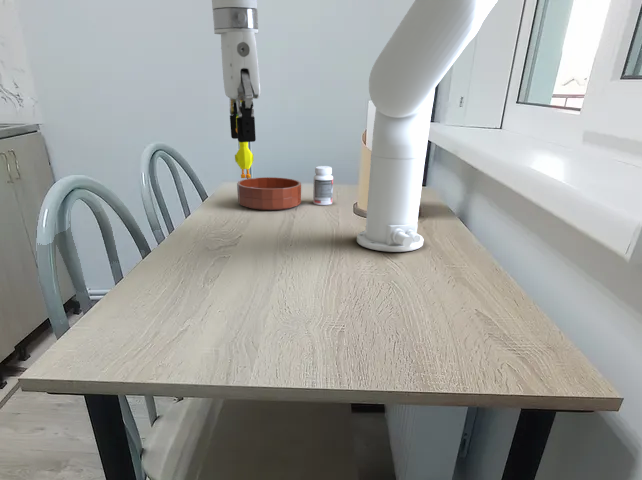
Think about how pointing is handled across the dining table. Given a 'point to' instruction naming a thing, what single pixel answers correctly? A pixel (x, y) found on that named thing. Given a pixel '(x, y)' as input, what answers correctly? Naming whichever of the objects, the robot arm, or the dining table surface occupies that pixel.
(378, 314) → the dining table surface
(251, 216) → the dining table surface
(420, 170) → the robot arm
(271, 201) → the bowl
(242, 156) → the toy figure
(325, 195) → the pill bottle
